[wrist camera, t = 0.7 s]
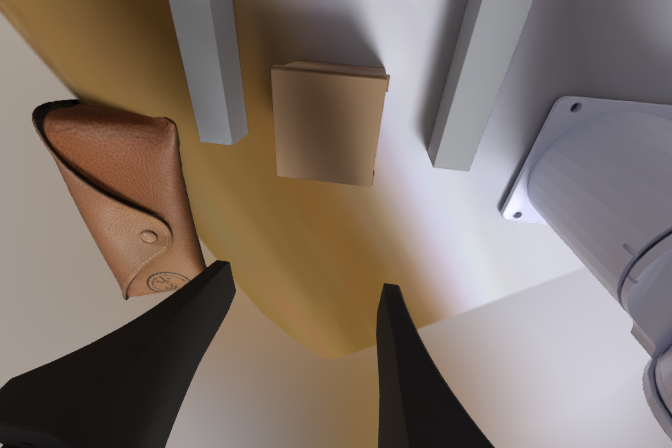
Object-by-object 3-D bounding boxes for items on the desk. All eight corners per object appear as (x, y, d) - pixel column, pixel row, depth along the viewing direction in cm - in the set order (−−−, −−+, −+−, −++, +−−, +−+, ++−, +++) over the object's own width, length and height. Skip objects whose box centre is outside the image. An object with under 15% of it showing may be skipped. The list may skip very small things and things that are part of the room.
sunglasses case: (218, 291, 29) (150, 334, 24) (183, 259, 32) (117, 292, 27) (175, 112, 18) (42, 131, 14) (129, 92, 22) (9, 101, 17)
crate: (387, 66, 15) (390, 77, 11) (373, 154, 18) (372, 188, 14) (296, 58, 16) (268, 66, 12) (298, 146, 19) (275, 177, 15)
